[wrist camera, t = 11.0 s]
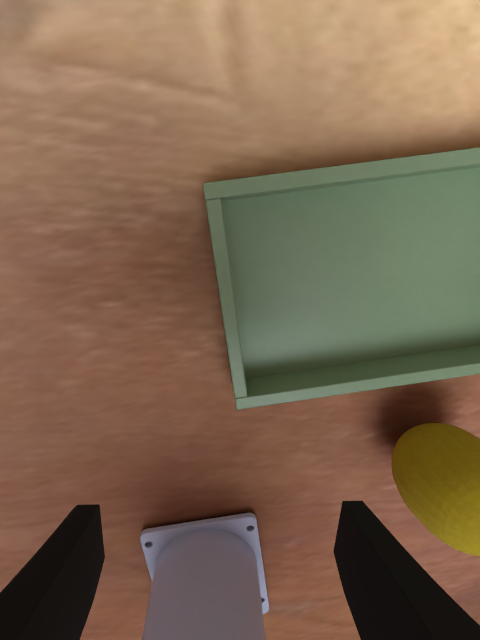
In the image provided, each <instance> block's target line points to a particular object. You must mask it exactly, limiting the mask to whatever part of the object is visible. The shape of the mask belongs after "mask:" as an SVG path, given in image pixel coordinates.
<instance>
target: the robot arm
mask: <svg viewBox="0 0 480 640" xmlns="http://www.w3.org/2000/svg"><path fill="white" fill-rule="evenodd" d="M140 542H141V545H142V549H143V552H144V556H145V559H146V563H147V566H148V570H149V573H150V577H151V581H152V586H151V592H150V597H149V603H148V608H147V614H146V619H145V624H144V630H143V635H142V640H266V638H265V629H264V620H263V614H265V613H267V612H268V610H269V603H268V596H267V589H266V582H265V575H264V568H263V561H262V554H261V547H260V540H259V534H258V527H257V520H256V516H255V515H254V514H253V513H243V514H237V515H231V516H224V517H218V518H212V519H205V520H199V521H192V522H186V523H180V524H173V525H167V526H161V527H154V528H148V529H144V530H143V531H142V532H141V535H140ZM334 555H335V559H336V563H337V567H338V571H339V575H340V579H341V583H342V586H343V590H344V593H345V596H346V599H347V602H348V605H349V608H350V610H351V613H352V616H353V619H354V622H355V624H356V627H357V630H358V633H359V636H360V638H361V640H480V625H479V624H478V623H476V622H475V621H474V620H473V619H472V618H471V617H470V616H469V615H468V614H467V613H466V612H465V611H464V610H463V609H462V608H461V607H460V606H459V605H458V604H457V603H456V602H455V601H454V600H453V599H452V598H451V597H450V596H449V595H448V594H447V593H446V592H445V591H444V590H443V589H442V588H441V587H440V586H439V585H438V584H437V583H436V582H435V581H434V580H433V579H432V578H431V576H430V575H429V574H428V573H427V572H426V571H425V570H424V569H423V568H422V567H421V566H420V565H419V564H418V563H417V562H416V560H415V559H414V558H413V557H412V556H411V555H410V554H409V553H408V552H407V551H406V550H405V548H404V547H403V546H402V545H401V544H400V543H399V542H398V541H397V540H396V538H395V537H394V536H393V535H392V534H391V533H390V532H389V531H388V529H387V528H386V527H385V526H384V525H383V524H382V523H381V522H380V520H379V519H378V518H377V517H376V516H375V515H374V514H373V512H372V511H371V510H370V509H369V508H368V507H367V506H366V505H365V503H364V502H363V501H343V502H342V508H341V513H340V519H339V524H338V530H337V535H336V541H335V547H334ZM104 558H105V555H104V545H103V535H102V525H101V515H100V506H99V505H77V506H76V507H75V508H74V509H73V510H72V511H71V512H70V513H69V515H68V516H67V517H66V518H65V519H64V521H63V522H62V523H61V524H60V525H59V527H58V528H57V529H56V530H55V531H54V533H53V534H52V535H51V536H50V537H49V538H48V540H47V541H46V542H45V543H44V544H43V545H42V547H41V548H40V549H39V550H38V551H37V552H36V554H35V555H34V556H33V557H32V558H31V559H30V560H29V561H28V563H27V564H26V565H25V566H24V567H23V568H22V569H21V570H20V572H19V573H18V574H17V575H16V576H15V577H14V578H13V579H12V581H11V582H10V583H9V584H8V585H7V586H6V587H5V588H4V589H3V590H2V591H1V593H0V640H80V637H81V634H82V631H83V628H84V626H85V623H86V620H87V617H88V615H89V612H90V609H91V606H92V603H93V600H94V596H95V593H96V589H97V585H98V582H99V578H100V574H101V570H102V566H103V562H104Z"/></svg>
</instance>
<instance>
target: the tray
mask: <svg viewBox="0 0 480 640" xmlns="http://www.w3.org/2000/svg"><path fill="white" fill-rule="evenodd" d="M203 189H204V195H205V200H206V209H207V216H208V222H209V229H210V236H211V242H212V249H213V256H214V263H215V269H216V276H217V283H218V290H219V296H220V303H221V310H222V316H223V323H224V330H225V337H226V343H227V350H228V357H229V364H230V370H231V377H232V384H233V390H234V397H235V404H236V409H237V410H239V409H246V408H253V407H260V406H266V405H273V404H280V403H287V402H293V401H300V400H307V399H313V398H320V397H327V396H334V395H340V394H347V393H354V392H361V391H367V390H374V389H381V388H388V387H394V386H401V385H408V384H415V383H421V382H428V381H435V380H442V379H448V378H455V377H462V376H469V375H475V374H480V147H478V148H470V149H462V150H455V151H447V152H439V153H432V154H424V155H416V156H408V157H401V158H393V159H385V160H377V161H370V162H362V163H354V164H347V165H339V166H331V167H323V168H316V169H308V170H300V171H293V172H285V173H277V174H269V175H262V176H254V177H246V178H238V179H231V180H223V181H215V182H208V183H203Z"/></svg>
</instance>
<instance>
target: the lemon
mask: <svg viewBox="0 0 480 640" xmlns="http://www.w3.org/2000/svg"><path fill="white" fill-rule="evenodd" d="M392 473H393V477H394V480H395V483H396V485H397V488H398V490H399V492H400V495H401V496H402V498H403V500H404V502H405V503H406V505H407V506H408V507H409V509H410V510H411V511H412V512H413V514H414V515H415V516H416V517H417V518H418V519H419V521H420V522H421V523H422V524H423V525H424V526H425V527H426V528H427V529H428V530H429V531H430V532H431V533H432V534H434V535H435V536H436V537H437V538H439V539H440V540H441V541H443V542H444V543H446V544H448V545H449V546H451V547H453V548H454V549H456V550H458V551H461V552H464V553H468V554H471V555H475V556H480V439H479V438H478V437H476V436H474V435H472V434H471V433H469V432H467V431H465V430H463V429H461V428H458V427H456V426H452V425H448V424H443V423H425V424H421V425H417V426H415V427H413V428H411V429H409V430H408V431H406V432H405V433H404V434H403V435H402V436H401V437H400V438H399V440H398V441H397V443H396V445H395V447H394V450H393V454H392Z"/></svg>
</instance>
